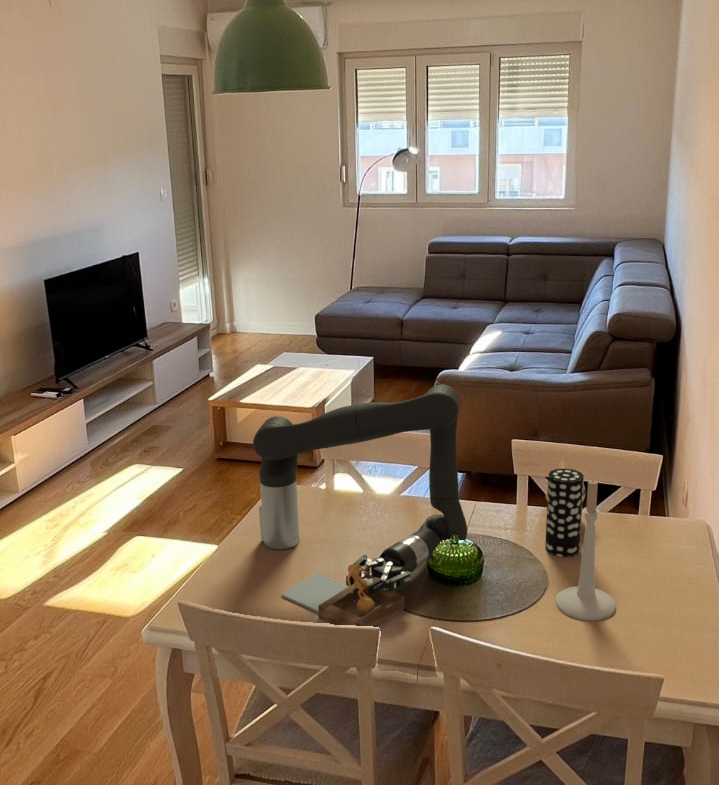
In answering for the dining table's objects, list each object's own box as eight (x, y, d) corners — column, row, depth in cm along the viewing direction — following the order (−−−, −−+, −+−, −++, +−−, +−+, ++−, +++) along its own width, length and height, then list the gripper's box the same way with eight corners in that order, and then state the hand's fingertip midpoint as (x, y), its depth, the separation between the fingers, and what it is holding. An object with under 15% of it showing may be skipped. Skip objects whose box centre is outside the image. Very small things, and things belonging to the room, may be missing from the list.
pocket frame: (318, 617, 188) (318, 605, 187) (361, 590, 199) (361, 578, 198) (362, 637, 180) (362, 625, 179) (404, 608, 191) (404, 596, 190)
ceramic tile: (281, 596, 197) (281, 594, 197) (317, 575, 206) (317, 572, 205) (320, 613, 189) (320, 611, 189) (355, 591, 198) (355, 588, 198)
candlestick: (622, 598, 192) (631, 474, 183) (606, 626, 182) (615, 497, 173) (566, 584, 199) (572, 464, 190) (547, 610, 188) (553, 485, 179)
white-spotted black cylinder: (542, 553, 213) (545, 479, 206) (548, 539, 220) (551, 466, 214) (576, 559, 210) (581, 484, 203) (581, 544, 217) (586, 470, 211)
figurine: (366, 625, 185) (364, 576, 181) (341, 619, 187) (339, 570, 183) (382, 606, 192) (381, 558, 188) (357, 600, 194) (356, 553, 191)
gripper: (380, 533, 202) (332, 561, 190) (430, 551, 193) (383, 581, 181) (381, 561, 204) (333, 591, 192) (430, 580, 195) (384, 613, 183)
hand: (358, 586), depth 187 cm, fingers open, 5 cm apart
